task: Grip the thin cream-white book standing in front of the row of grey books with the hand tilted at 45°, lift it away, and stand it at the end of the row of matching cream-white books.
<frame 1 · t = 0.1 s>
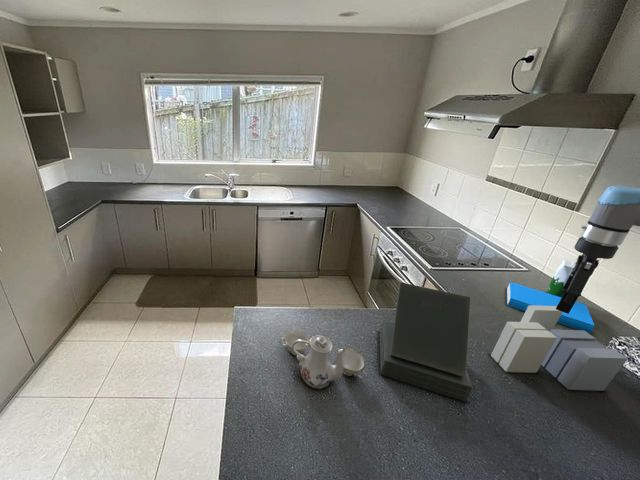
hand: (564, 302, 87), 24 cm above the worktop, tool pointing down, fingers open, 13 cm apart
thin white book: (528, 340, 104), on the worktop
white books: (512, 363, 94), on the worktop
chinaware: (317, 369, 89), on the worktop
milk carton: (557, 299, 128), on the worktop
grey books: (566, 373, 91), on the worktop
book: (543, 309, 121), on the worktop
dark grey display stand: (416, 363, 93), on the worktop
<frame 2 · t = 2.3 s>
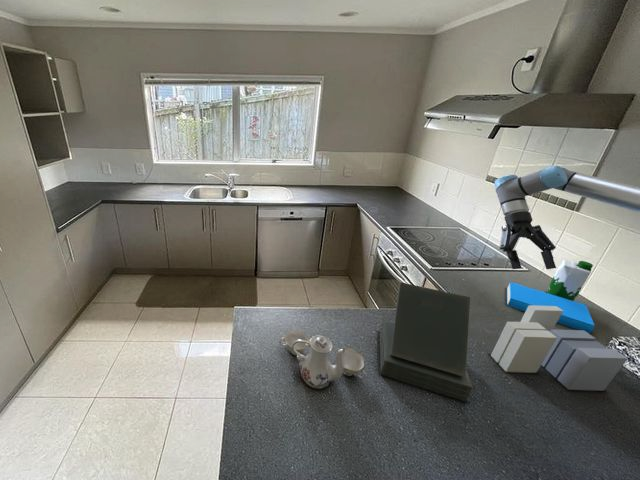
hand: (534, 268, 101), 26 cm above the worktop, tool tilted 40°, fingers open, 13 cm apart
nothing on the worktop moved.
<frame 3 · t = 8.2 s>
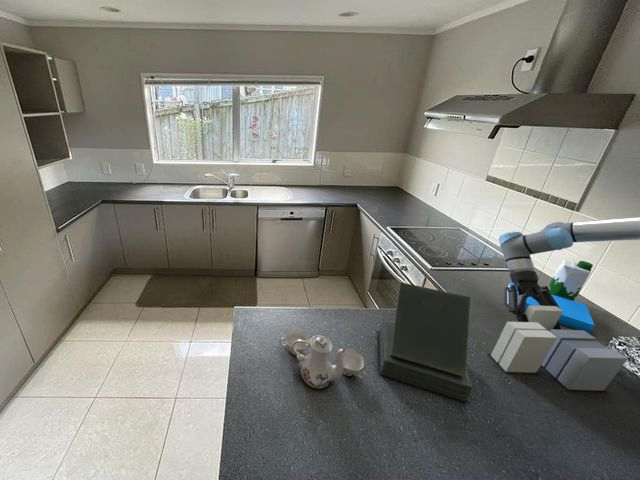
hand: (542, 334, 98), 6 cm above the worktop, tool tilted 45°, fingers closed on thin white book, 10 cm apart
thin white book: (528, 340, 104), on the worktop, touching gripper
everything else where it was.
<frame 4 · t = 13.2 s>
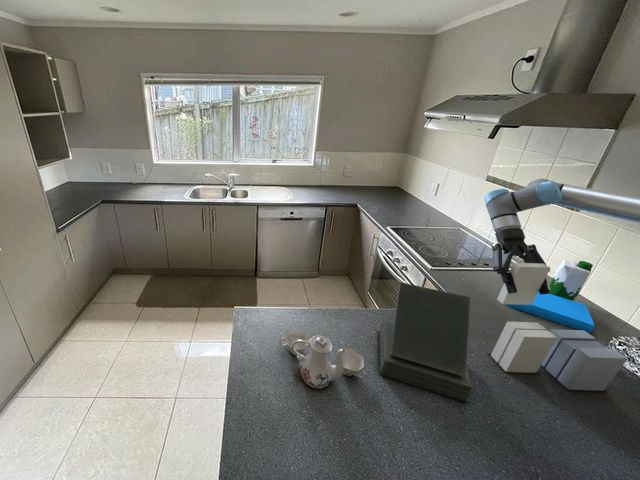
hand: (528, 293, 92), 23 cm above the worktop, tool tilted 45°, fingers closed on thin white book, 10 cm apart
thin white book: (513, 302, 97), point 17 cm above the worktop, touching gripper
everything else where it was.
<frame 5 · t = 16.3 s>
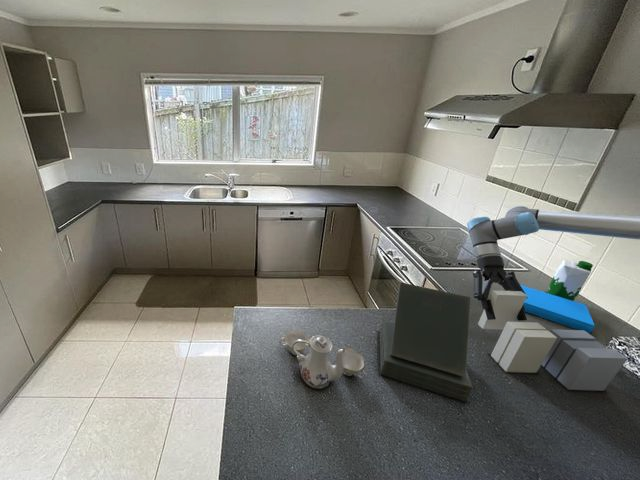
hand: (507, 320, 96), 12 cm above the worktop, tool tilted 45°, fingers closed on thin white book, 10 cm apart
thin white book: (493, 326, 101), point 6 cm above the worktop, touching gripper
everything else where it was.
when the fingers open (6 cm above the worktop, at t = 18.5 s): thin white book stays where it is, on the worktop.
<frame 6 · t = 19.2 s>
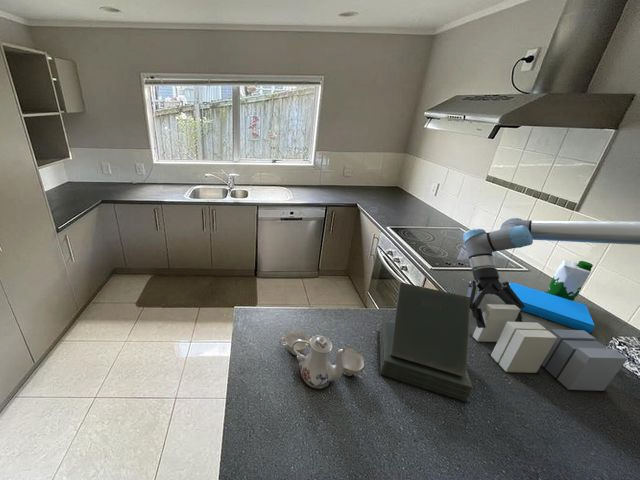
hand: (501, 328, 98), 7 cm above the worktop, tool tilted 45°, fingers open, 13 cm apart
thin white book: (488, 339, 103), on the worktop
everything else where it was.
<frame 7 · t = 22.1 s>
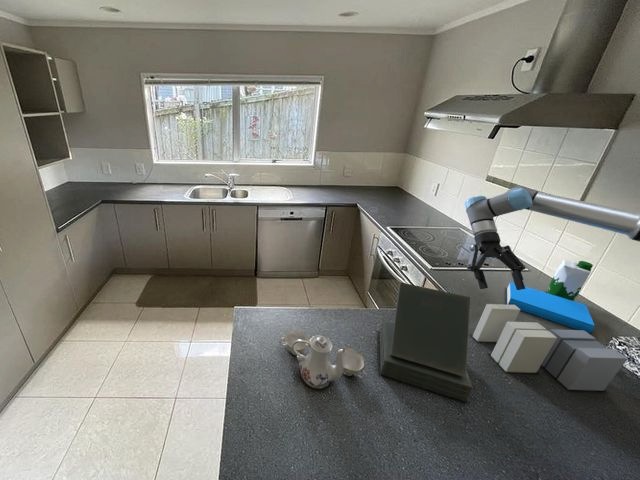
hand: (502, 289, 101), 19 cm above the worktop, tool tilted 45°, fingers open, 13 cm apart
nothing on the worktop moved.
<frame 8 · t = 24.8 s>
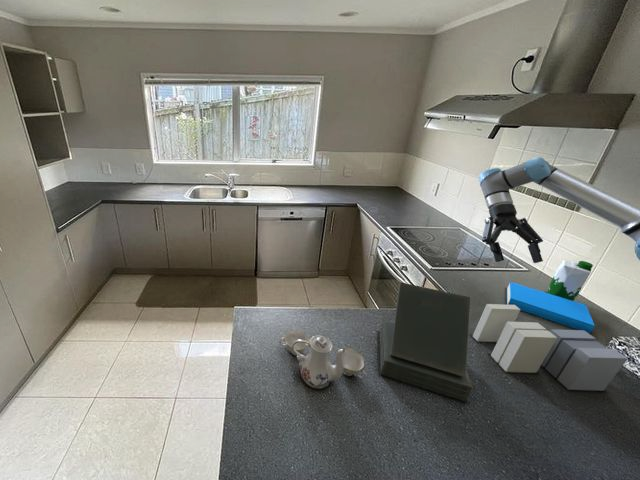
hand: (519, 261, 98), 30 cm above the worktop, tool tilted 45°, fingers open, 13 cm apart
nothing on the worktop moved.
at the end: thin white book 0.0 cm from the target spot, on the worktop; thin white book tilted 0°; the gripper is holding nothing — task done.
